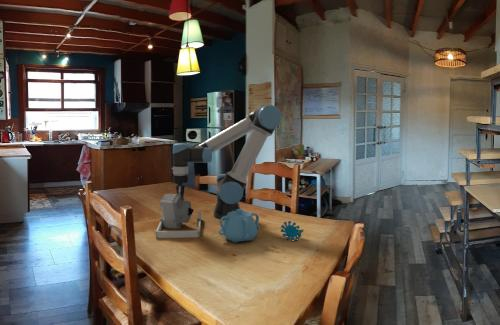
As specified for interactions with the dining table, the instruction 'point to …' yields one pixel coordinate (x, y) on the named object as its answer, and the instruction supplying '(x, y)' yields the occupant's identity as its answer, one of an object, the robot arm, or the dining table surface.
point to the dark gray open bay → (197, 219)
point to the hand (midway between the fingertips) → (180, 220)
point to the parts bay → (177, 233)
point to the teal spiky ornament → (291, 230)
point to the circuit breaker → (175, 210)
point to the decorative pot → (239, 226)
